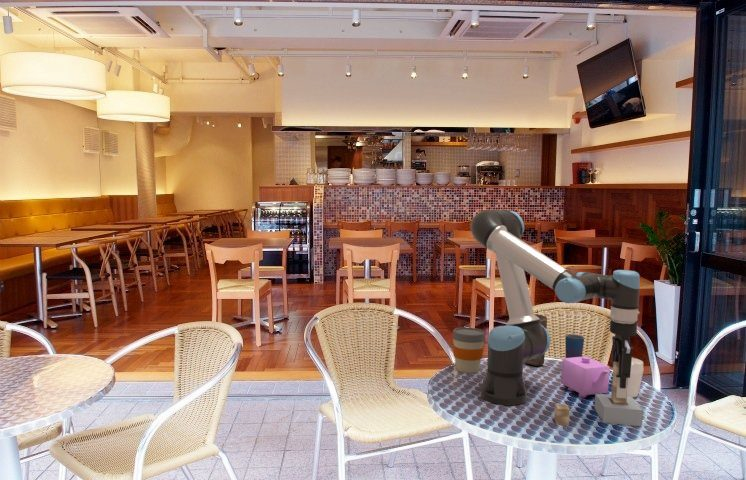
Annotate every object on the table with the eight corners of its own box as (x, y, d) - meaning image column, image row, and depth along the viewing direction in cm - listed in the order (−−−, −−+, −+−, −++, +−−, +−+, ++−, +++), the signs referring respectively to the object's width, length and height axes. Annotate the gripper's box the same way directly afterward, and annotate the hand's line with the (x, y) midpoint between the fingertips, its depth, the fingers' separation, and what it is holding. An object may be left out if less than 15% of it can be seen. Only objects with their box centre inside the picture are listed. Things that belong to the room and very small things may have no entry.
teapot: (556, 385, 195) (558, 351, 194) (579, 382, 198) (581, 349, 197) (595, 406, 176) (597, 369, 175) (620, 403, 180) (622, 366, 178)
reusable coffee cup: (486, 366, 214) (488, 329, 213) (479, 376, 203) (481, 337, 201) (456, 362, 219) (457, 325, 218) (447, 371, 208) (448, 332, 206)
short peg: (556, 424, 162) (557, 408, 161) (554, 419, 165) (555, 403, 165) (568, 425, 161) (569, 409, 161) (566, 420, 164) (567, 404, 164)
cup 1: (584, 377, 204) (587, 339, 202) (566, 377, 204) (569, 338, 202) (578, 371, 211) (580, 334, 209) (560, 371, 211) (562, 333, 209)
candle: (547, 364, 219) (550, 316, 217) (540, 368, 213) (543, 319, 211) (529, 360, 223) (531, 313, 222) (522, 364, 218) (524, 316, 216)
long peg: (613, 409, 166) (616, 365, 165) (610, 404, 170) (613, 361, 168) (625, 410, 166) (628, 365, 164) (622, 405, 169) (625, 362, 168)
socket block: (603, 422, 163) (604, 406, 163) (594, 408, 174) (595, 393, 174) (641, 426, 162) (642, 410, 161) (630, 411, 172) (631, 396, 172)
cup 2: (644, 400, 183) (647, 365, 182) (616, 397, 184) (618, 363, 183) (637, 390, 192) (639, 357, 190) (610, 388, 193) (612, 355, 192)
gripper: (645, 328, 156) (640, 406, 158) (628, 315, 173) (624, 386, 175) (618, 326, 158) (613, 404, 160) (603, 314, 174) (599, 384, 176)
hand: (619, 394), depth 167 cm, fingers closed on long peg, 3 cm apart
